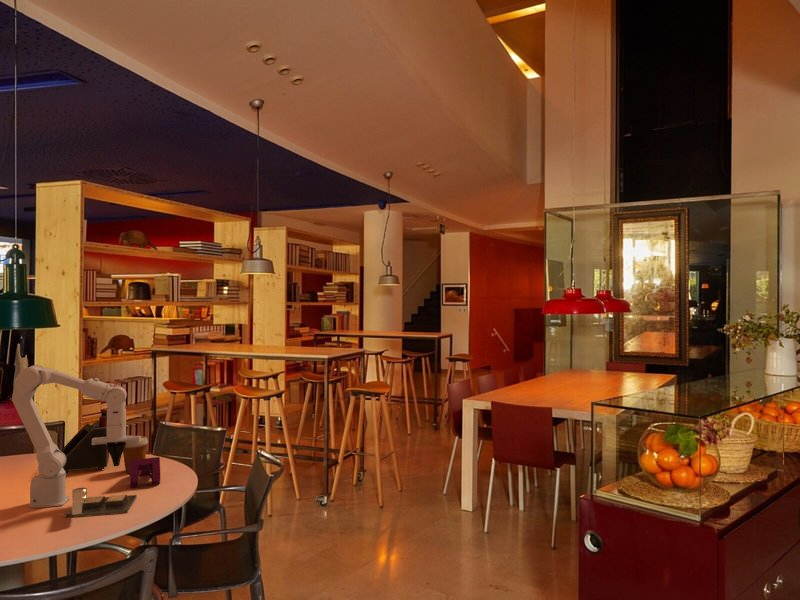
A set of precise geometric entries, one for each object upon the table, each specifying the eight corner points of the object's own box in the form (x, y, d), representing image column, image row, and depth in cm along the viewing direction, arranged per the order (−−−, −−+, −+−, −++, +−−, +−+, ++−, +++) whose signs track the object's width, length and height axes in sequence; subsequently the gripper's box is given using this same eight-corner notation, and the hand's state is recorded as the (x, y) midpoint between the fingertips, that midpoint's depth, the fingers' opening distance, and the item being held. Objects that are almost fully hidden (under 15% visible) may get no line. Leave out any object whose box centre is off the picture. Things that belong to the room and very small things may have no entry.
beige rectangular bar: (72, 498, 189) (72, 488, 189) (87, 496, 191) (87, 486, 191) (69, 515, 174) (69, 504, 174) (84, 513, 176) (84, 502, 176)
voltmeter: (63, 464, 239) (62, 413, 239) (109, 460, 246) (108, 410, 246) (57, 475, 224) (57, 421, 224) (106, 470, 231) (106, 417, 231)
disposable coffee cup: (142, 474, 225) (141, 442, 225) (116, 474, 225) (116, 442, 225) (152, 467, 234) (152, 436, 234) (127, 467, 234) (127, 436, 234)
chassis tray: (65, 517, 181) (65, 508, 181) (79, 502, 194) (79, 493, 194) (127, 512, 184) (127, 503, 184) (136, 498, 198) (136, 489, 198)
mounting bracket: (129, 494, 221) (130, 485, 206) (128, 471, 224) (130, 460, 209) (157, 490, 225) (160, 481, 210) (156, 467, 228) (159, 456, 213)
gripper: (142, 420, 205) (142, 461, 205) (95, 422, 202) (96, 463, 202) (138, 424, 198) (138, 466, 198) (89, 426, 195) (89, 469, 195)
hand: (116, 465), depth 199 cm, fingers closed
